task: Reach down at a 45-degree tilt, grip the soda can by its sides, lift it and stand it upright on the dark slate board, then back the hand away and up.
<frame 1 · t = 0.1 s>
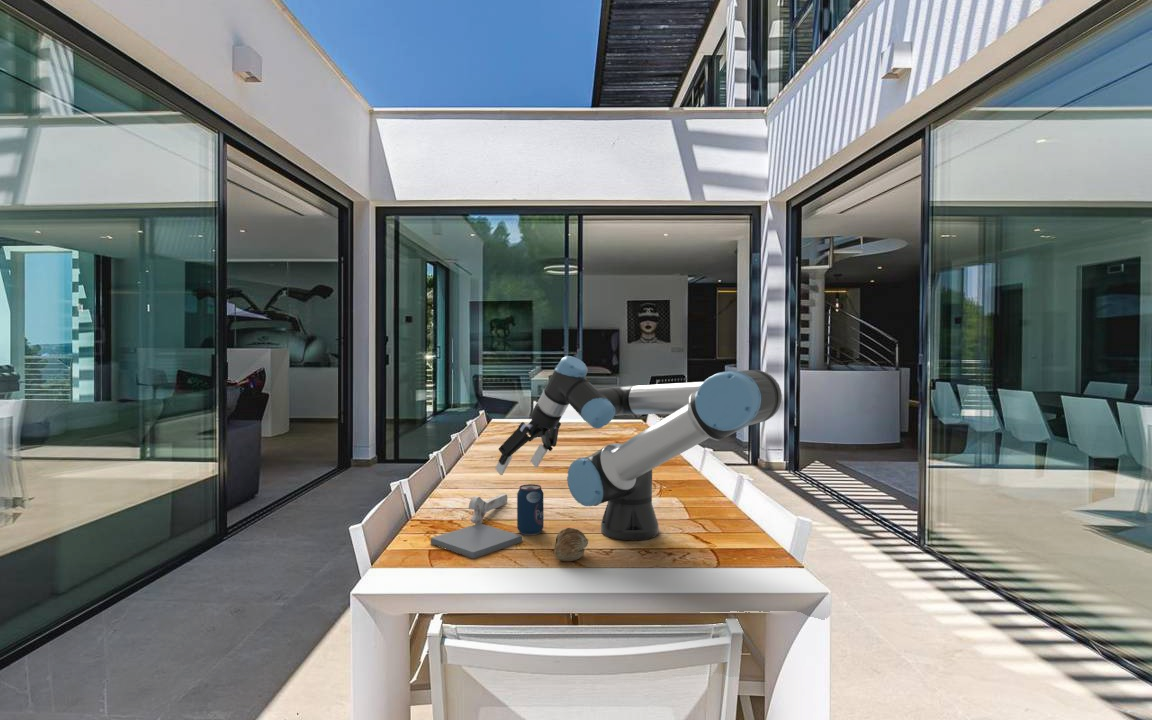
hand: (516, 467, 170), 15 cm above the table, fingers open, 13 cm apart
slate board: (476, 542, 153), on the table
soda can: (530, 532, 162), on the table
seashell: (571, 559, 143), on the table
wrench: (489, 516, 178), on the table
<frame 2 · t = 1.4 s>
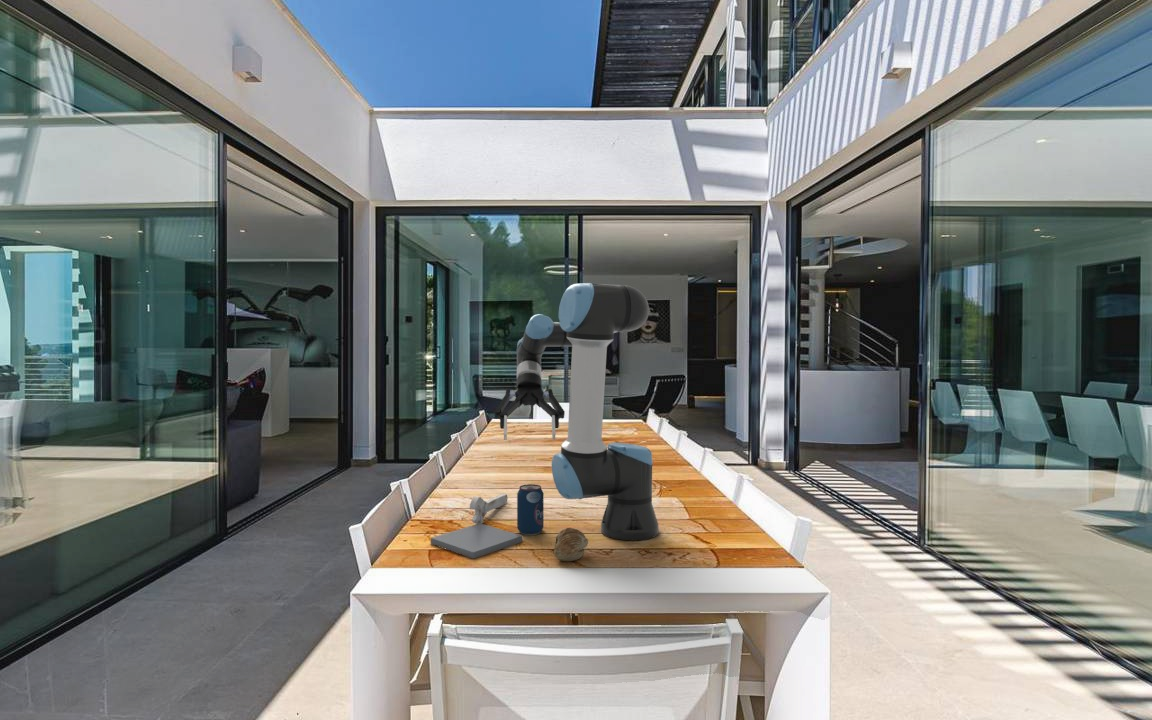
hand: (529, 436, 172), 23 cm above the table, fingers open, 13 cm apart
nothing on the table moved.
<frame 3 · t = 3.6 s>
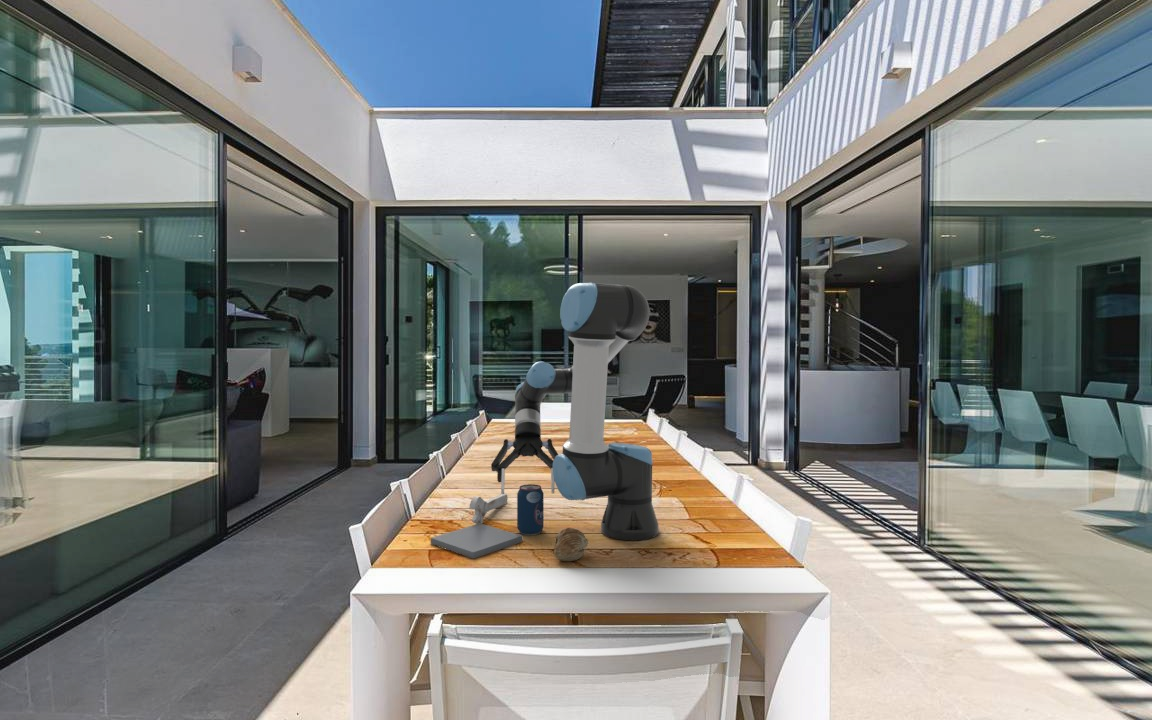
hand: (527, 491, 166), 10 cm above the table, fingers open, 13 cm apart
nothing on the table moved.
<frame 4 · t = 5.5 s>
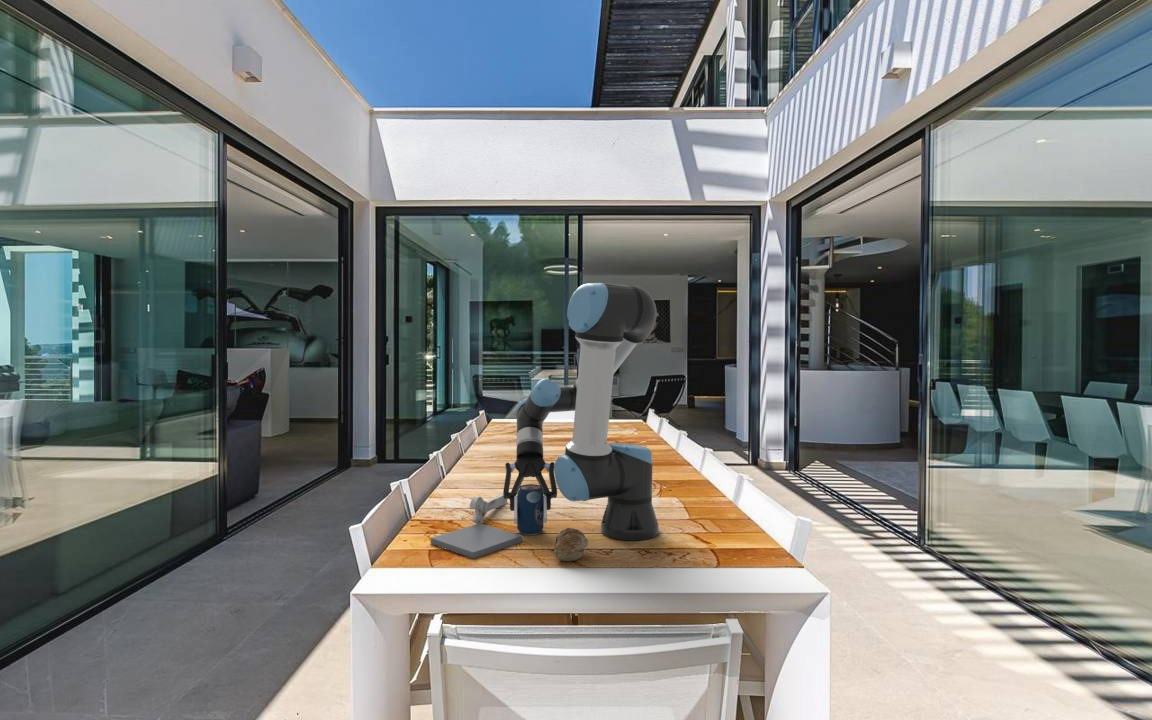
hand: (530, 520, 159), 4 cm above the table, fingers closed on soda can, 7 cm apart
soda can: (530, 532, 162), on the table, touching gripper
everything else where it was.
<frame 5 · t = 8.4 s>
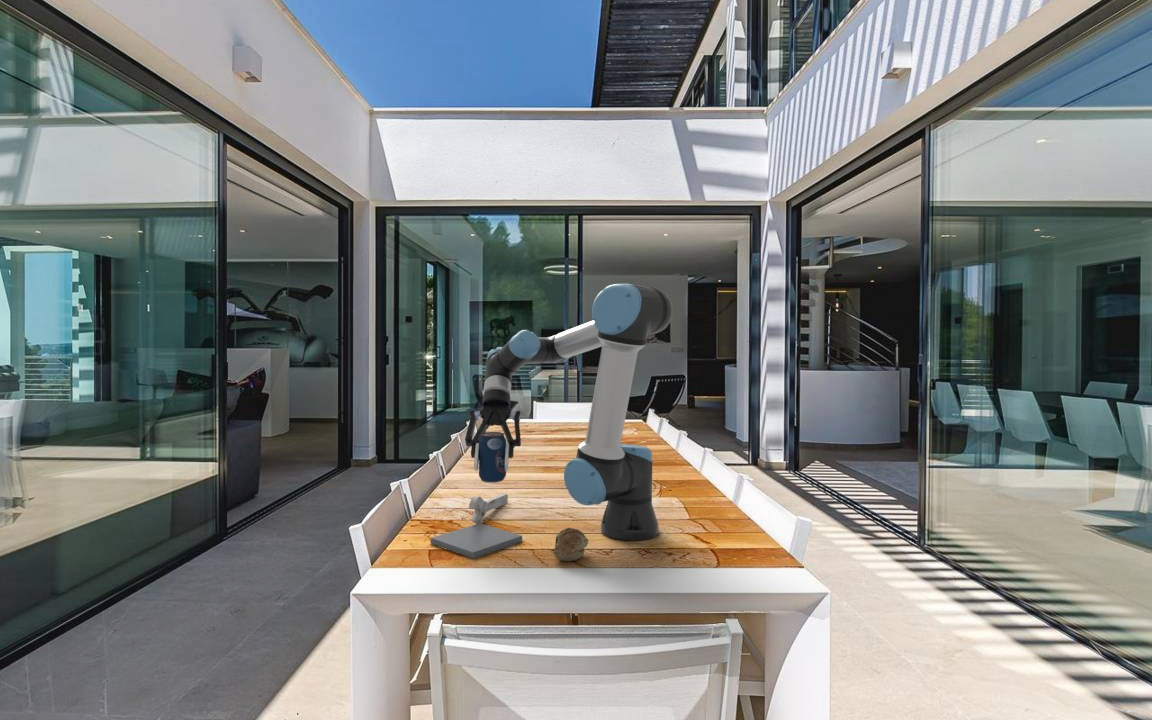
hand: (491, 467, 154), 19 cm above the table, fingers closed on soda can, 7 cm apart
soda can: (492, 480, 158), point 14 cm above the table, touching gripper
everything else where it was.
when the fingers open (7 cm above the table, at t = 11.3 s): soda can drops 1 cm, resting on slate board.
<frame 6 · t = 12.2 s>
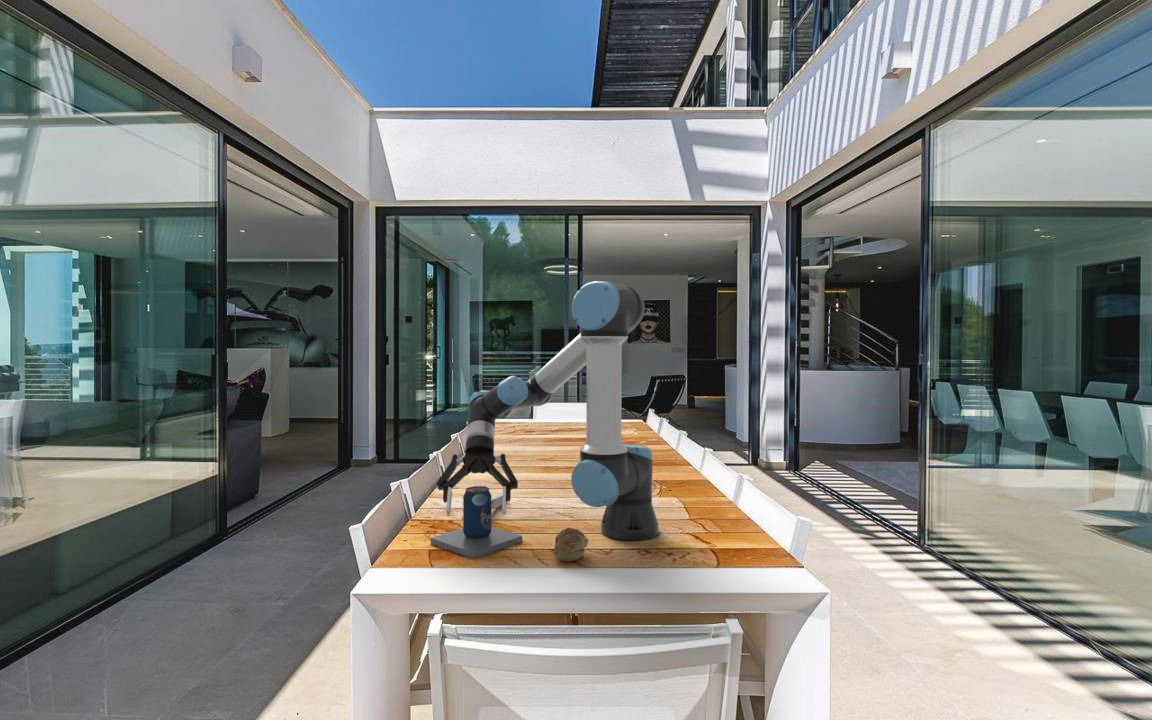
hand: (476, 512, 151), 8 cm above the table, fingers open, 13 cm apart
soda can: (477, 537, 154), point 1 cm above the table, touching slate board
everything else where it was.
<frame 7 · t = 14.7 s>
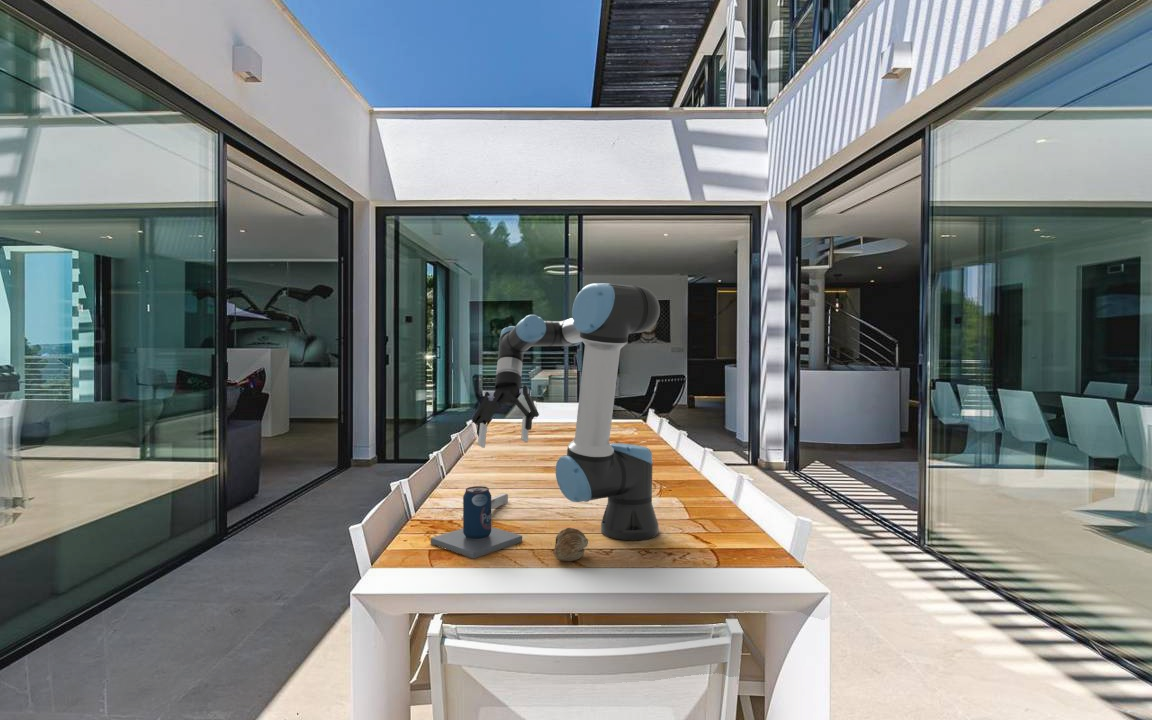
hand: (502, 443, 171), 22 cm above the table, fingers open, 13 cm apart
nothing on the table moved.
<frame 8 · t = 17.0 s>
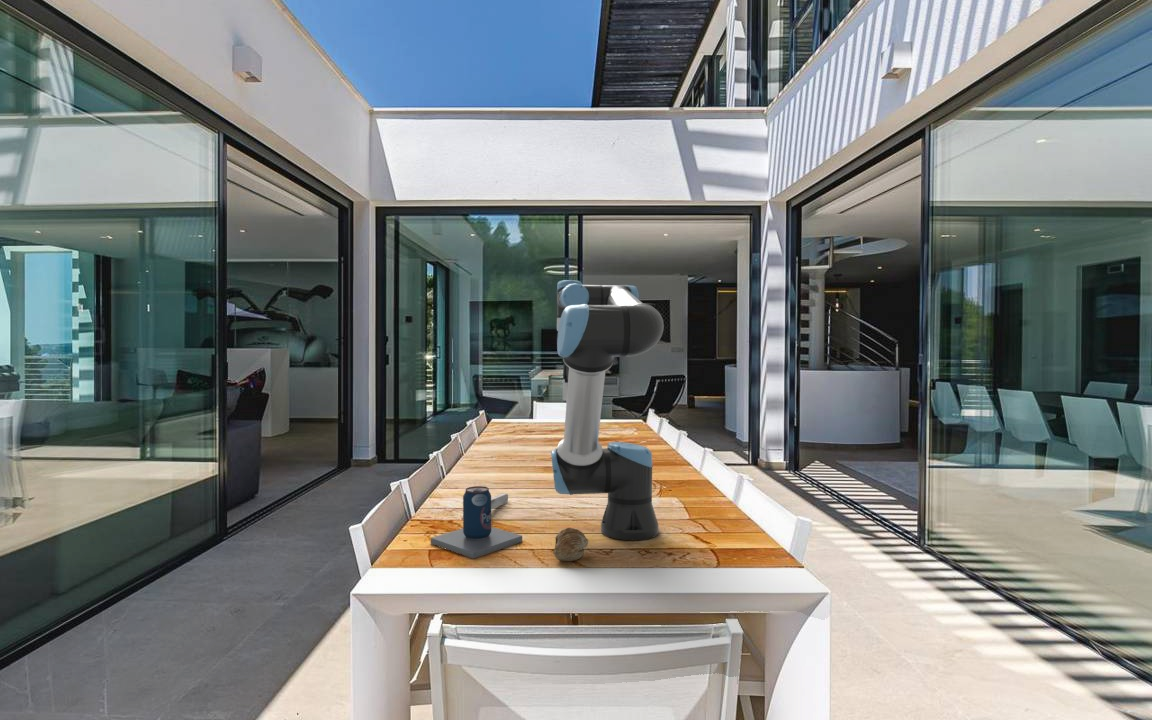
hand: (569, 402, 186), 32 cm above the table, fingers open, 13 cm apart
nothing on the table moved.
at the end: soda can inside the target area on the slate board (0.2 cm from its centre), point 1.3 cm above the slate board's base; soda can tilted 0°; the gripper is holding nothing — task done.
